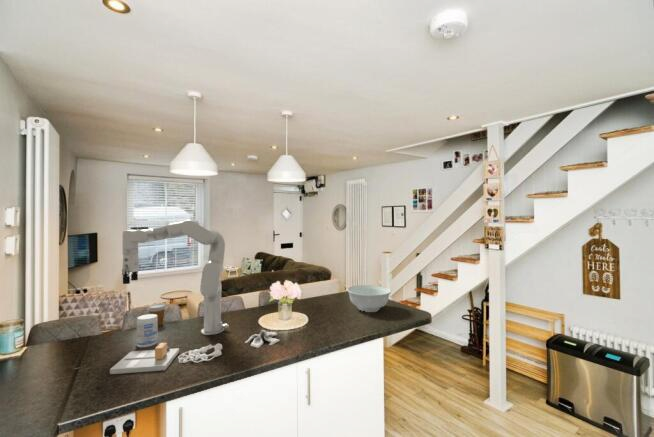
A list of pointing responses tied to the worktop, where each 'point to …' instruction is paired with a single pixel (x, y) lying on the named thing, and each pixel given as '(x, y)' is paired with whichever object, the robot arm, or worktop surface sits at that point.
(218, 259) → the robot arm
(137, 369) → the console
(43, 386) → the worktop surface
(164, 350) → the block
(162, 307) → the disposable coffee cup
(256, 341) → the cloth
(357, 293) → the bowl
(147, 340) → the supplement tub
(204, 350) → the tangled rod sculpture
